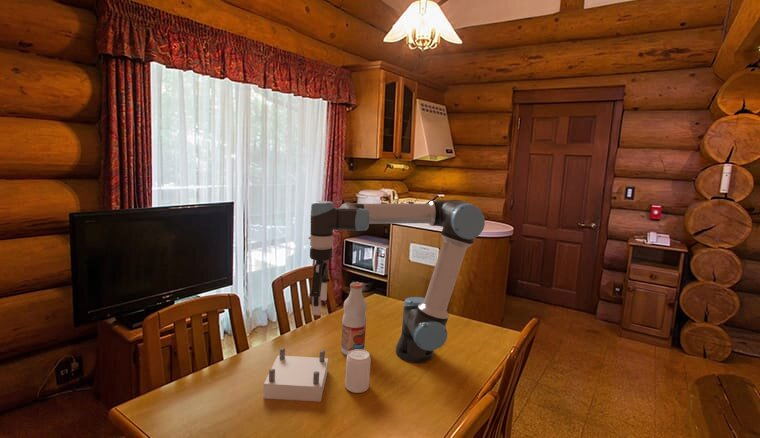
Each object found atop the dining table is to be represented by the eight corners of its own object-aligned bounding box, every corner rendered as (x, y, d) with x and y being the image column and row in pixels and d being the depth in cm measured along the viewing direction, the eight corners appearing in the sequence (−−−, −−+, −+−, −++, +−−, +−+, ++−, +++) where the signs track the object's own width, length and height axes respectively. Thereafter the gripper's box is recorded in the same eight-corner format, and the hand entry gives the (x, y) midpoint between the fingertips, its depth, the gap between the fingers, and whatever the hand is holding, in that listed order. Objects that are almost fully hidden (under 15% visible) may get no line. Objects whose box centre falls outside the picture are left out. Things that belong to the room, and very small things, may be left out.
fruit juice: (347, 343, 165) (350, 278, 161) (367, 348, 162) (372, 282, 158) (336, 353, 157) (340, 285, 152) (358, 359, 153) (362, 289, 149)
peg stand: (327, 371, 143) (328, 349, 142) (320, 401, 126) (321, 376, 124) (277, 368, 143) (278, 346, 142) (263, 398, 125) (264, 373, 124)
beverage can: (365, 396, 130) (367, 362, 128) (341, 391, 131) (343, 358, 130) (371, 383, 138) (373, 350, 136) (348, 379, 139) (350, 346, 137)
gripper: (316, 238, 147) (315, 293, 150) (302, 255, 122) (301, 320, 125) (337, 239, 147) (335, 295, 150) (326, 256, 122) (324, 322, 125)
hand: (319, 307), depth 138 cm, fingers open, 13 cm apart
